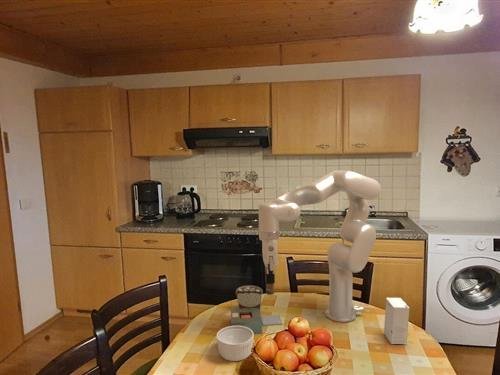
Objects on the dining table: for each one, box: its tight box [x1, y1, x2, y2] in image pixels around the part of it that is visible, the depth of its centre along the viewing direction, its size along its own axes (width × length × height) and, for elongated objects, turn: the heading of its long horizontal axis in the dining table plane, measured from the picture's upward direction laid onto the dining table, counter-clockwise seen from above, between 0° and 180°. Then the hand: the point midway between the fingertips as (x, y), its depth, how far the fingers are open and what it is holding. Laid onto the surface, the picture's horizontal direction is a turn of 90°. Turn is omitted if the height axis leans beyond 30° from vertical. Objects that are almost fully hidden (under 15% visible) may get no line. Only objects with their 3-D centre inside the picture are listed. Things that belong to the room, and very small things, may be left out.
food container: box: [235, 285, 264, 311], centre depth 161 cm, size 12×6×10 cm, turn 84°
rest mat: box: [261, 314, 283, 327], centre depth 150 cm, size 8×8×1 cm
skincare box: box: [383, 297, 410, 345], centre depth 133 cm, size 8×6×15 cm
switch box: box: [230, 308, 263, 335], centre depth 145 cm, size 12×12×5 cm
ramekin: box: [216, 325, 255, 362], centre depth 126 cm, size 13×13×7 cm
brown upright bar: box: [265, 264, 275, 296], centre depth 137 cm, size 3×3×13 cm
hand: (269, 281), depth 138 cm, fingers closed on brown upright bar, 3 cm apart
